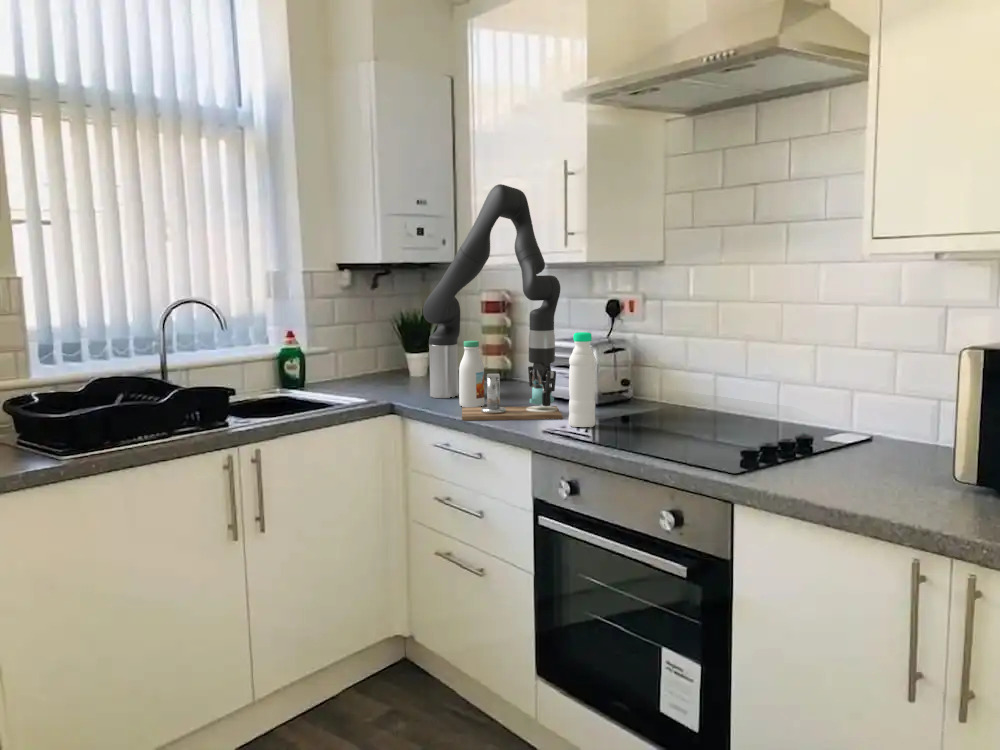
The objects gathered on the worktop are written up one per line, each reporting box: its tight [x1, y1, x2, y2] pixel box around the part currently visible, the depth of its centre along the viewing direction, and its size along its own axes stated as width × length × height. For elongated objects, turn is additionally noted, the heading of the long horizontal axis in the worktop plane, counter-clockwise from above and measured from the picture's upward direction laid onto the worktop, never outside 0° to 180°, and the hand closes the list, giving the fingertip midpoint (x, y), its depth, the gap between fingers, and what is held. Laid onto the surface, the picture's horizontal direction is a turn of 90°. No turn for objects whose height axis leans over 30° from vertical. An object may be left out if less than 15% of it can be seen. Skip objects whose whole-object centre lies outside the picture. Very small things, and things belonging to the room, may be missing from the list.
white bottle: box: [568, 331, 597, 428], centre depth 210 cm, size 7×7×25 cm
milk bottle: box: [458, 340, 485, 408], centre depth 242 cm, size 8×8×20 cm
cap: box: [529, 383, 555, 406], centre depth 229 cm, size 7×6×5 cm
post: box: [481, 373, 506, 414], centre depth 226 cm, size 7×7×11 cm
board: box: [461, 405, 563, 422], centre depth 228 cm, size 14×28×2 cm, turn 93°
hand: (541, 403), depth 229 cm, fingers closed on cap, 5 cm apart
